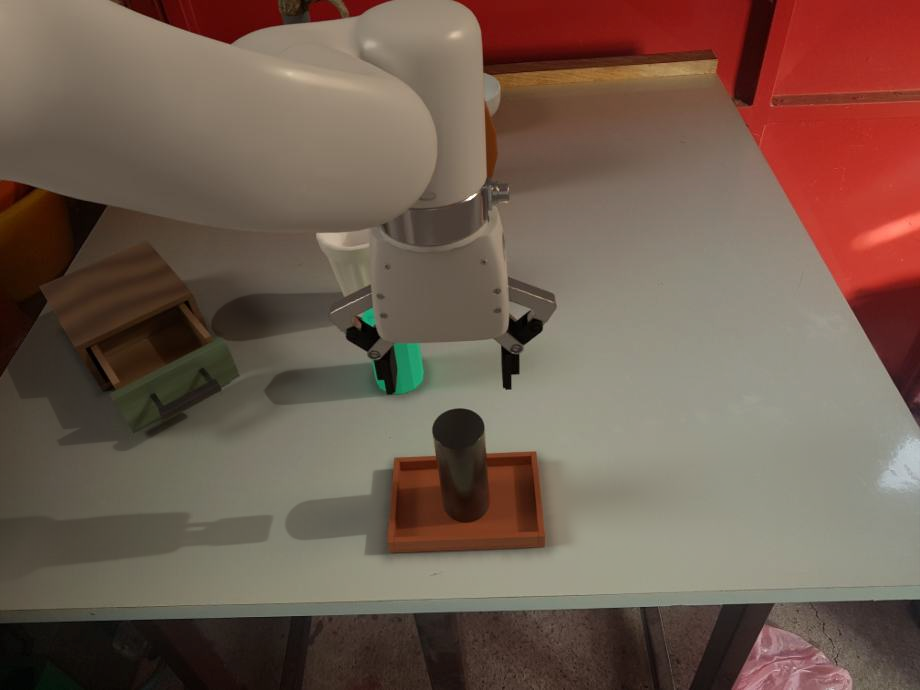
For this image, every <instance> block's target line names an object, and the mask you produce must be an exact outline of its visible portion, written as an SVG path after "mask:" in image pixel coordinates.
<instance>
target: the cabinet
mask: <svg viewBox="0 0 920 690" xmlns="http://www.w3.org/2000/svg"><path fill="white" fill-rule="evenodd" d="M38 287H39V289H40V291H41V293H42V294H43V296H44V297H45V300H46V302H47V303H48V304H49V306H50V308H51V309H52V311H53V313H54V314H55V316H56V318H57V320H58V321H59V323H60V325H61V327H62V328H63V330H64V332H65V334H66V335H67V337H68V339H69V340H70V342H71V343H72V345H73V347H74V349H75V350H76V352H77V353H78V355H79V357H80V358H81V360H82V361H83V363H84V364H85V367H87V369H88V371H89V373H90V374H91V376H92V378H93V379H94V380H95V382H96V383H97V385H98V387H99V389H100V390H101V391H102V392H104V391H106V390H108V389H110V388H113V387H114V386H113V384H112V383H111V381H110V380H109V378H108V376H107V375H106V373H105V371H104V370H103V368H102V367H101V365H100V363H99V362H98V360H97V358H96V357H95V355H94V353H93V352H92V350H91V348H90V346H92V345H94V344H96V343H98V342H100V341H102V340H104V339H106V338H109V337H111V336H113V335H115V334H117V333H119V332H121V331H123V330H126V329H128V328H130V327H132V326H134V325H136V324H138V323H140V322H142V321H145V320H147V319H149V318H151V317H153V316H155V315H157V314H159V313H161V312H164V311H166V310H168V309H170V308H172V307H174V306H176V305H178V304H180V303H184V304H185V305H186V306H187V307H188V309H189V310H190V311H191V312H192V313H193V315H194V316H195V317H196V318H197V319H198V321H199V322H200V323H201V324H202V325H203V327H204V328H205V329H206V330H207V331H208V333H209V334H210V335H211V333H210V330H209V328H208V325H207V324H206V321H205V319H204V316H203V314H202V312H201V310H200V308H199V307H200V306H199V305H198V303H197V300H196V298H195V296H194V294H193V291H191V289H190V288H189V287H188V286H187V285H186V284H185V282H184V281H183V280H182V279H181V278H180V277H179V275H178V274H177V273H176V272H175V271H174V269H173V268H172V267H171V266H170V265H169V264H168V262H167V261H166V260H165V259H164V258H163V257H162V255H160V253H159V252H158V251H157V250H156V249H155V248H154V246H153V245H152V244H151V243H150V242H149V241H148V240H145V241H142V242H140V243H138V244H136V245H133V246H131V247H129V248H126V249H123V250H122V251H119V252H117V253H114V254H111V255H109V256H107V257H105V258H103V259H100V260H98V261H95V262H93V263H91V264H89V265H85V266H84V267H81V268H79V269H76V270H73V271H72V272H70V273H68V274H64V275H62V276H60V277H58V278H56V279H52V280H51V281H49V282H45V283H44V284H41V285H39V286H38Z"/></svg>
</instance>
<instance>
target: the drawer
mask: <svg viewBox="0 0 920 690" xmlns="http://www.w3.org/2000/svg"><path fill="white" fill-rule="evenodd" d="M209 333H210V332H209ZM209 333H208V331H207V330H206V329H205V328H204V327H203V325H202V324H201V323H200V322H199V321H198V319H197V318H196V317H195V316H194V315H193V313H192V312H191V311H190V310H189V309H188V307H187V306H186V305H185V304H184V303H180V304H178V305H176V306H174V307H172V308H170V309H168V310H166V311H164V312H161V313H159V314H157V315H155V316H153V317H151V318H149V319H147V320H145V321H142V322H140V323H138V324H136V325H134V326H132V327H130V328H128V329H126V330H123V331H121V332H119V333H117V334H115V335H113V336H111V337H109V338H106V339H104V340H102V341H100V342H98V343H96V344H94V345H92V346H90V348H91V350H92V352H93V353H94V355H95V357H96V358H97V360H98V362H99V363H100V365H101V367H102V368H103V370H104V371H105V373H106V375H107V376H108V378H109V380H110V381H111V383H112V384H113V386H112V387H113V388H114V389H115V390H114V391H112V392H111V393H109V396H110V397H111V399H112V401H113V402H114V404H115V406H116V407H117V409H118V410H119V411H118V412H120V413H121V416H122V417H123V418H124V420H125V423H126V424H127V426H128V427H129V429H130V430H131V432H132V433H133V434H135V433H137V432H140V431H141V430H143V429H145V428H147V427H148V426H151V425H153V424H154V423H156V422H157V421H159V420H161V419H162V421H163V422H167V421H169V420H170V419H172V418H174V417H177V416H178V415H180V414H182V413H184V412H186V411H187V410H189V409H191V408H192V407H194V406H196V405H198V404H201V403H202V402H203V401H205V400H208V399H210V398H212V396H214V395H216V394H218V393H220V392H222V391H223V388H222V387H223V386H225V385H227V384H228V383H230V382H232V381H233V380H235V379H237V378H240V377H241V375H240V372H239V370H238V368H237V365H236V362H235V360H234V359H233V356H232V353H231V351H230V349H229V346H228V344H227V342H226V340H225V339H224V338H223V337H222V336H220V337H219V338H217V339H215V340H213V336H212V335H211V333H210V334H209Z"/></svg>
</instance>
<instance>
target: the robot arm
mask: <svg viewBox="0 0 920 690" xmlns="http://www.w3.org/2000/svg"><path fill="white" fill-rule="evenodd" d="M483 54H484V53H483V39H482V30H481V26H480V23H479V22H478V19H477V17H476V16H475V14H474V13H473V11H472V10H471V9H470V8H468V7H467V6H465V4H462V3H461V2H458V1H455V0H389V1H385V2H383V3H380V4H377V5H375V6H373V7H371V8H369V9H367V10H365V11H364V12H363V13H362V14H360V15H356V16H349V18H344V19H342V18H337V19H330V20H321V21H313V22H312V21H311V23H300V24H289V25H284V24H282V25H275V26H269V27H265V28H260V29H256V30H254V31H252V32H250V33H247V34H246V35H243V36H241V37H240V38H238V39H237V40H235V41H233V42H232V43H231V44H230V43H226V42H223V41H221V40H218V39H217V40H216V39H214V38H211V37H207V36H204V35H202V34H201V35H200V34H197V33H194V32H191V31H188V30H185V29H183V28H180V27H177V26H173V25H171V24H168V23H165V22H162V21H161V20H157V19H155V18H153V17H150V16H147V15H144V14H142V13H139V12H137V11H134V10H132V9H130V8H127V7H126V6H123V5H120V4H118V3H117V2H114V1H112V0H0V181H7V182H15V183H19V184H24V185H27V186H31V187H34V188H38V189H41V190H45V191H47V192H50V193H54V194H57V195H61V196H65V197H69V198H72V199H76V200H81V201H86V202H90V203H96V204H101V205H105V206H109V207H110V206H111V207H114V208H121V209H124V210H129V211H134V212H138V213H142V214H148V215H151V216H155V217H161V218H165V219H170V220H173V221H180V222H184V223H189V224H193V225H199V226H205V227H212V228H218V229H219V228H220V229H223V230H231V231H241V232H253V233H268V234H269V233H270V234H271V233H284V234H285V233H286V234H316V233H340V232H352V231H360V230H364V229H368V228H370V229H369V264H370V280H371V284H370V285H368V286H366V287H364V288H362V289H360V290H358V291H356V292H354V293H352V294H350V295H348V296H346V297H344V296H343V297H342V298H340V299H337V300H336V301H333V302H332V303H331V304H330V307H329V312H328V319H329V320H330V321H331V323H333V325H335V327H336V328H337V329H338V330H339V331H340V332H341V333H343V334H344V335H345V339H346V340H347V341H348V342H350V343H351V344H353V345H355V346H356V347H358V348H360V349H361V350H363V351H365V352H366V357H367V358H368V359H370V361H371V360H374V365H375V370H376V375H377V380H384V383H385V389H386V391H385V393H386V395H394V394H393V393H395V392H396V382H397V362H396V356H395V350H394V344H395V343H420V344H433V343H455V342H457V343H458V342H475V341H486V340H492V339H493V340H494V341H495V342H496V343H498V344H499V345H500V363H501V364H500V365H501V379H502V380H501V381H502V382H501V383H502V389H504V390H505V391H509V390H510V391H511V390H512V387H513V384H512V380H513V379H512V376H515V375H520V372H521V371H520V370H521V369H520V368H521V367H520V365H521V364H520V362H521V361H520V357H521V355H520V354H522V353H523V352H524V350H525V346H526V345H527V344H528V343H529V342H531V341H532V340H533V339H535V338H536V337H537V336H539V334H541V333H542V332H543V331H544V326H545V324H547V323H548V322H549V320H550V319H551V317H552V316H553V314H554V313H555V312H556V310H557V308H558V305H557V300H556V295H555V293H553V292H551V291H548V290H546V289H543V288H540V287H537V286H535V285H532V284H529V283H526V282H523V281H521V280H518V279H515V278H512V277H509V275H508V273H509V271H508V262H507V261H508V259H507V250H506V239H505V234H504V229H503V225H502V220H501V216H500V213H499V210H498V206H499V205H500V204H510V185H509V182H503V183H498V181H492V178H491V177H487V167H486V136H485V107H484V80H483V73H484V57H483ZM510 302H511V303H513V304H517V305H520V306H523V307H525V308H528V309H530V310H527V312H525V313H524V314H523V315H522V316H520V317H519V318H518V319H517V318H516V317H515V316H514V315H513V314H511V313H510ZM371 308H373V311H374V318H375V325H374V326H373V327H372V326H371V325H369V324H367V323H366V322H364V321H363V320H362V318H360V317H357V316H356V315H359V314H361V313H363V312H365V311H367V310H369V309H371Z"/></svg>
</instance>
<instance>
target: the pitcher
mask: <svg viewBox="0 0 920 690" xmlns="http://www.w3.org/2000/svg"><path fill="white" fill-rule="evenodd" d="M320 1H322V0H277V4H278V5H277V6H278V11H279V13H280V14H281V18H282V23H283V25H289V24H300V23H311V22H312V21H311V16H310V10H311V6H310V4H312V3H318V2H320ZM323 2H328V3H330V4H332V5H333V6H334V7H335V8H336V9H337V10H338V12H339V14H340V16H341V19H344V18H350V12H349V10H348V8H347V6H346V5H345V2H344V1H343V0H323Z"/></svg>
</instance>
